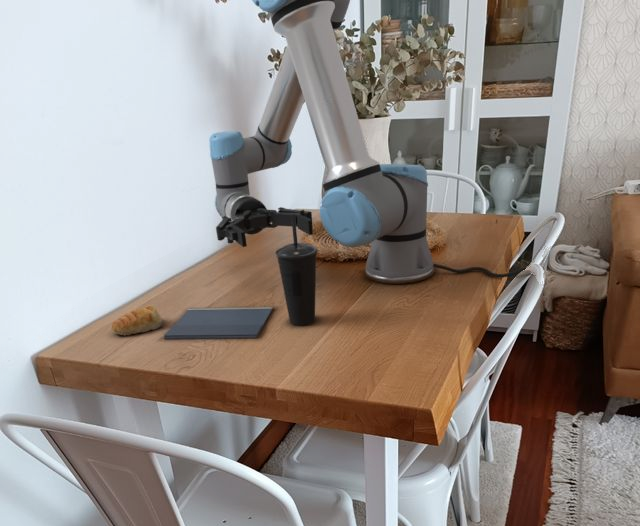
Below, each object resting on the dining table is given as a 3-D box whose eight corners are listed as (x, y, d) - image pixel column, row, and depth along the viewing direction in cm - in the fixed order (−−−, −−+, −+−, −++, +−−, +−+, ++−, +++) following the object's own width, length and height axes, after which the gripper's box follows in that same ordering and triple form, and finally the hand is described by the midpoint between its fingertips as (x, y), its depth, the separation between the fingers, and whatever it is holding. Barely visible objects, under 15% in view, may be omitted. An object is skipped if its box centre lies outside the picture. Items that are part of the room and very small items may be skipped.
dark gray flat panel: (273, 308, 126) (273, 305, 126) (257, 338, 114) (256, 334, 113) (189, 310, 129) (188, 306, 129) (164, 339, 117) (163, 335, 116)
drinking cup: (330, 320, 119) (323, 213, 108) (298, 332, 115) (288, 222, 104) (306, 311, 124) (297, 207, 113) (275, 321, 120) (263, 216, 110)
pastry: (121, 340, 117) (116, 321, 115) (107, 331, 122) (102, 313, 120) (165, 326, 122) (161, 308, 120) (151, 318, 127) (146, 300, 125)
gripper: (301, 222, 141) (338, 242, 124) (194, 240, 134) (218, 264, 117) (298, 187, 137) (336, 203, 120) (187, 204, 130) (211, 224, 113)
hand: (277, 233), depth 119 cm, fingers open, 13 cm apart
